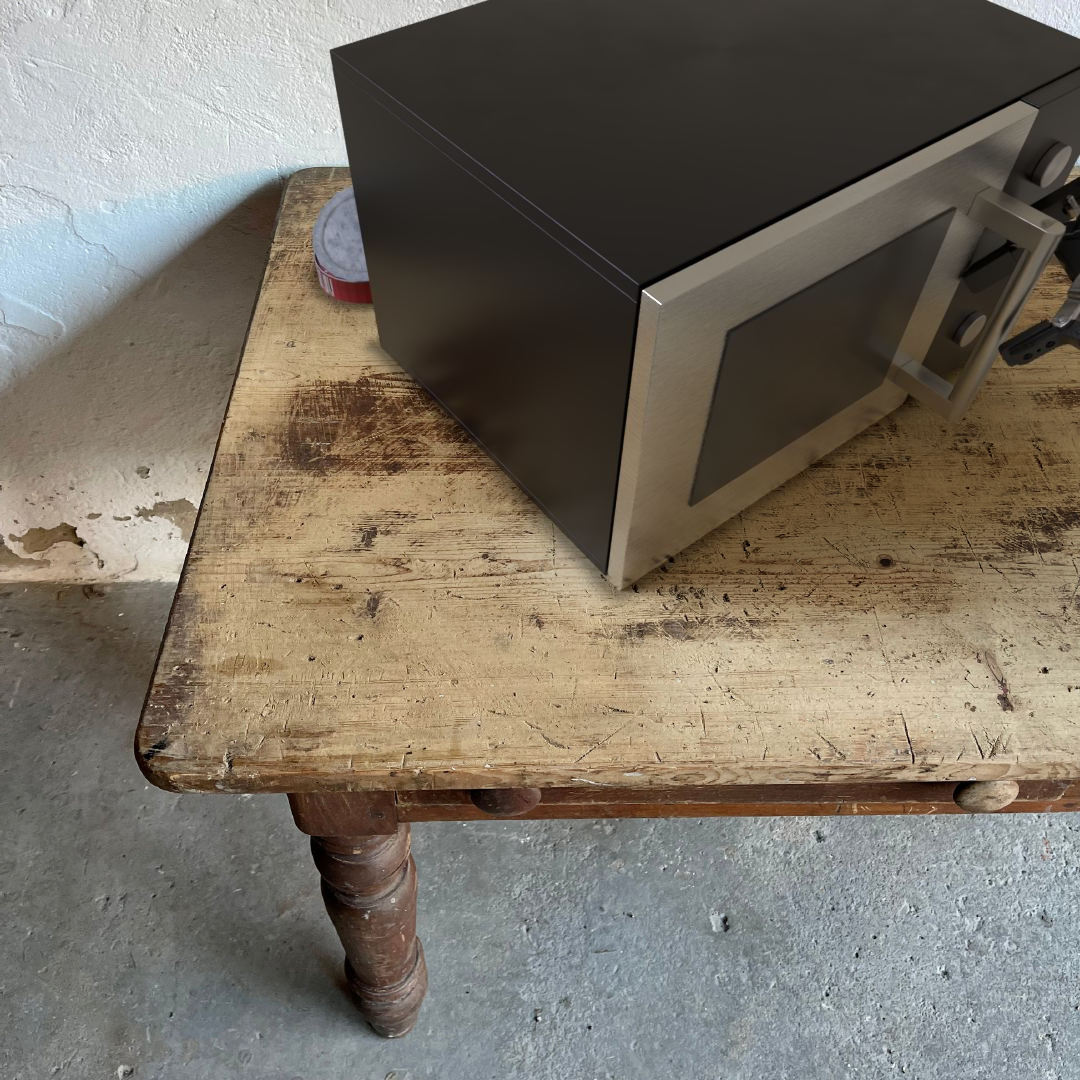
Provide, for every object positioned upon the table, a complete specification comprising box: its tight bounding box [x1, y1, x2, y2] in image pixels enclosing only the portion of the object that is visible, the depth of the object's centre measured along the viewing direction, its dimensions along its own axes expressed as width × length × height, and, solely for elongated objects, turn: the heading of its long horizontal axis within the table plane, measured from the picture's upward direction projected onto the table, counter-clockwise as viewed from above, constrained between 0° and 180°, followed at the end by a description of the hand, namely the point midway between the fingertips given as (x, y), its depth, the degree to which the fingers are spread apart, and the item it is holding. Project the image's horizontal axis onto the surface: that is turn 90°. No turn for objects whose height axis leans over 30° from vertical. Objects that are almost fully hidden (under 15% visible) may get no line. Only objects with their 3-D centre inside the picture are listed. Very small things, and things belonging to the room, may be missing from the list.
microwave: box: [329, 0, 1080, 576], centre depth 76 cm, size 36×46×28 cm
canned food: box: [312, 184, 373, 304], centre depth 91 cm, size 11×10×10 cm
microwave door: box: [606, 101, 1066, 592], centre depth 64 cm, size 8×35×28 cm, turn 127°
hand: (984, 320), depth 69 cm, fingers open, 8 cm apart
